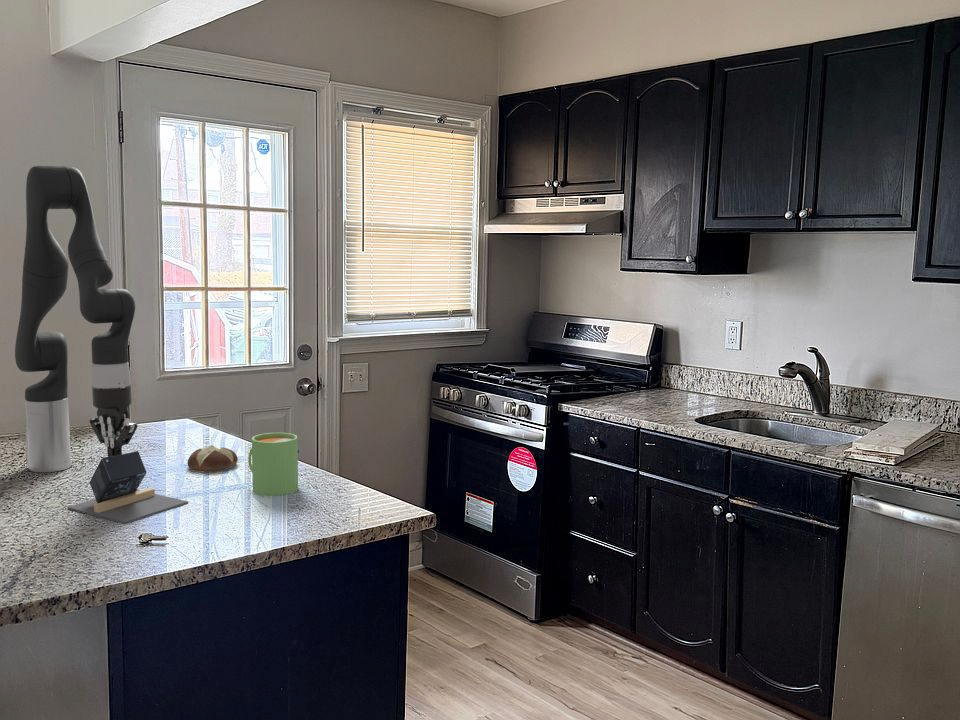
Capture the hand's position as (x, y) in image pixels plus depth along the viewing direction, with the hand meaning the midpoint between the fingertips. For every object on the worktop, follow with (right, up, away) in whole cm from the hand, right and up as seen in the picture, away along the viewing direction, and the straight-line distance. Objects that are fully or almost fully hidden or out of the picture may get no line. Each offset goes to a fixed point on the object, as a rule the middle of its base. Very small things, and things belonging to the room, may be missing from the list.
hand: (115, 463), depth 185 cm
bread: (+12, -5, +30) cm, 33 cm away
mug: (+30, -7, +13) cm, 34 cm away
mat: (+4, -9, -2) cm, 10 cm away
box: (-1, -6, +1) cm, 6 cm away
